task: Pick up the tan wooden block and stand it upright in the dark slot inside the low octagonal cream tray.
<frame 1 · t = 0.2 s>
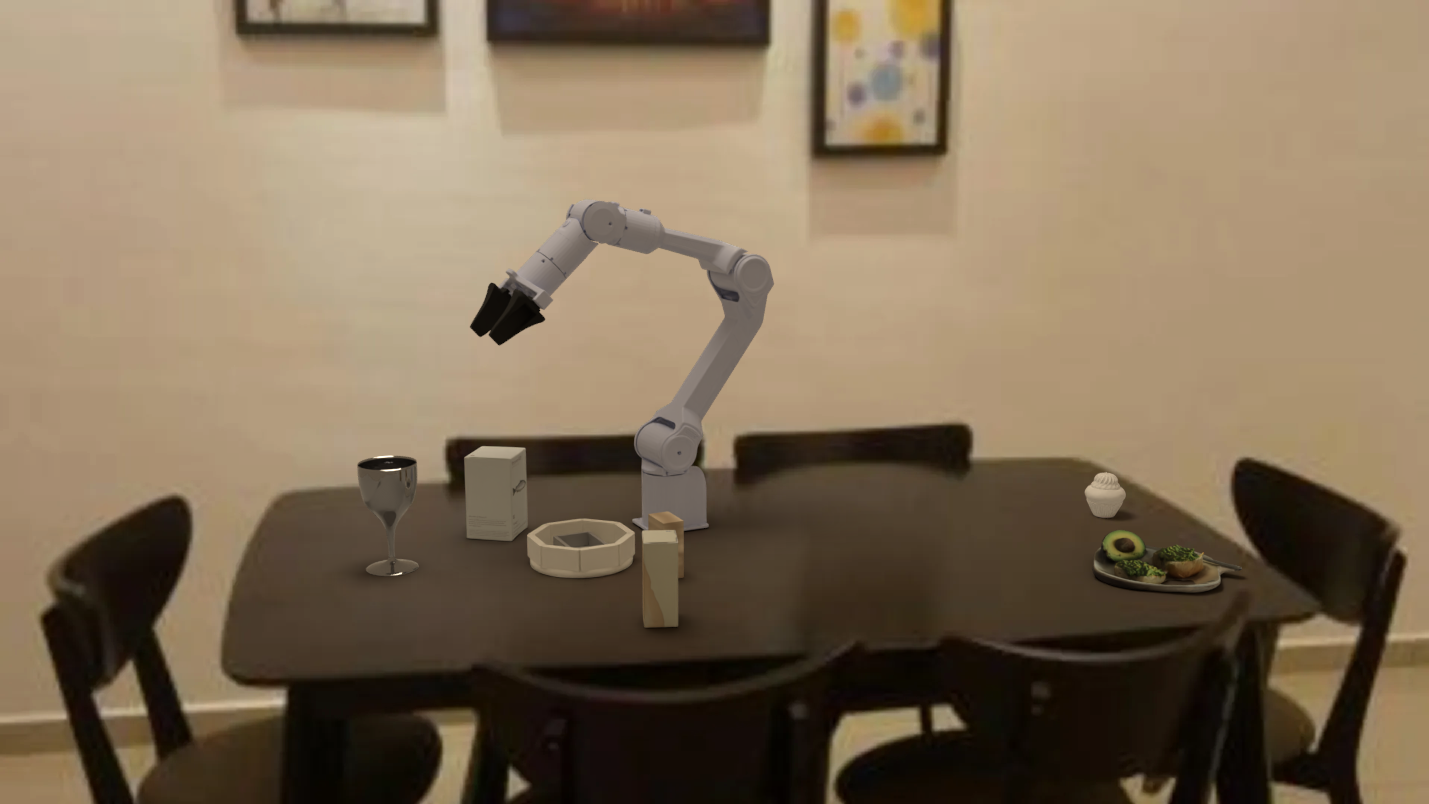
hand: (484, 336, 190), 31 cm above the table, tool tilted 50°, fingers open, 7 cm apart
tan wooden block: (666, 573, 188), on the table
supplement box: (498, 534, 206), on the table
muffin: (1103, 516, 215), on the table
salad plate: (1151, 576, 189), on the table
wine glass: (392, 569, 191), on the table
octagonal cream tray: (581, 561, 193), on the table
box: (660, 622, 171), on the table
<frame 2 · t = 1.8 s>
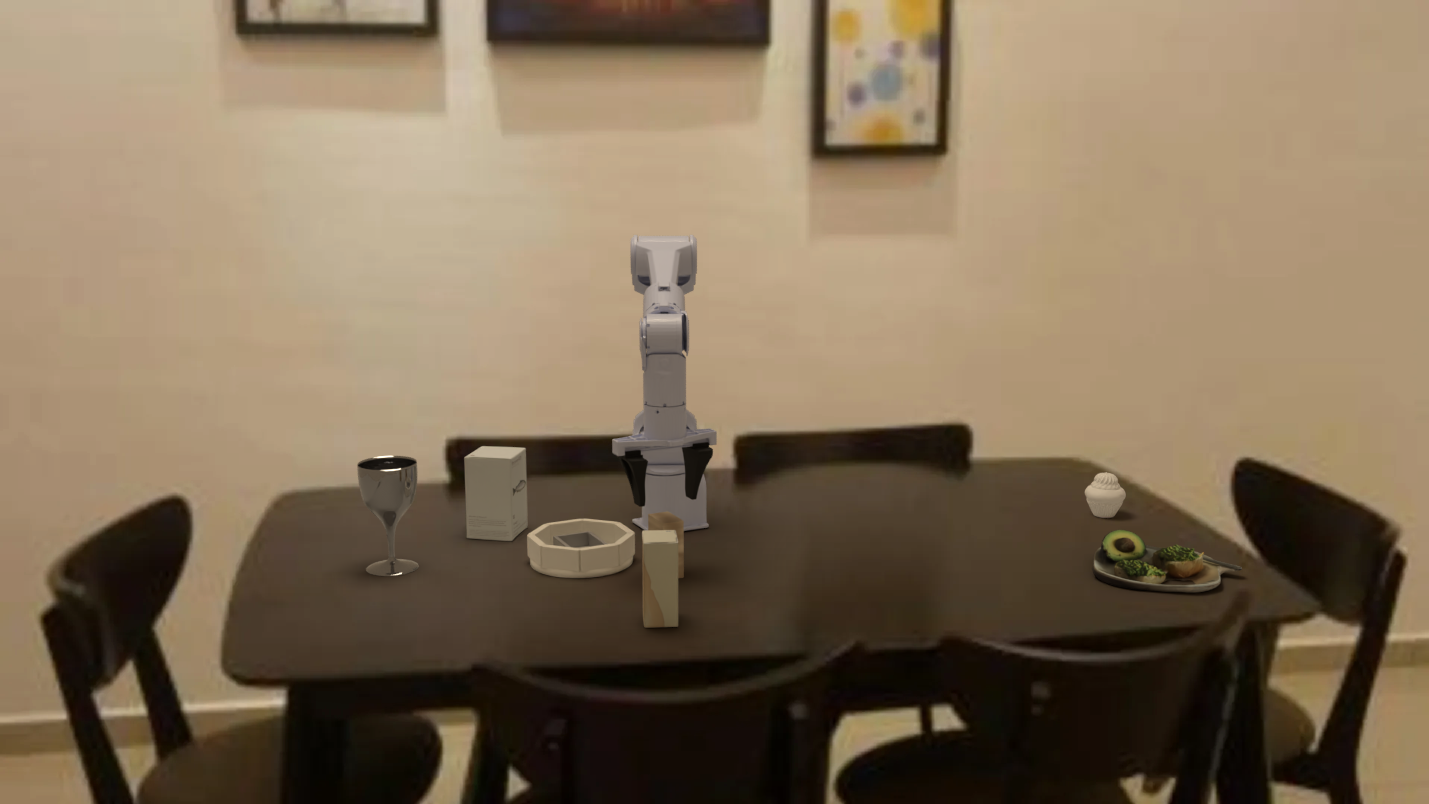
hand: (665, 501, 186), 10 cm above the table, tool pointing down, fingers open, 7 cm apart
nothing on the table moved.
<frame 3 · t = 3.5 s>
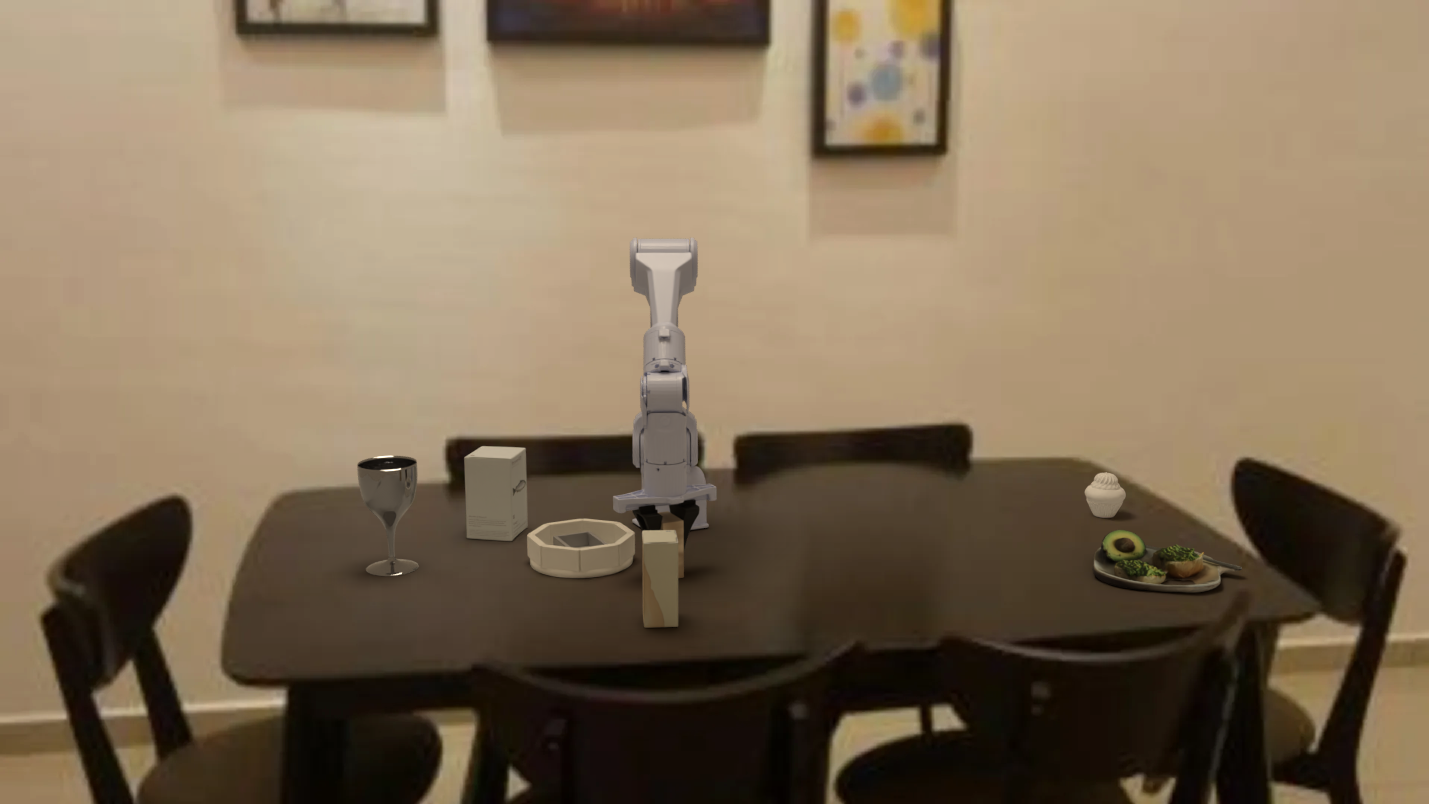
hand: (665, 556, 188), 2 cm above the table, tool pointing down, fingers closed on tan wooden block, 3 cm apart
tan wooden block: (666, 573, 188), on the table, touching gripper
everything else where it was.
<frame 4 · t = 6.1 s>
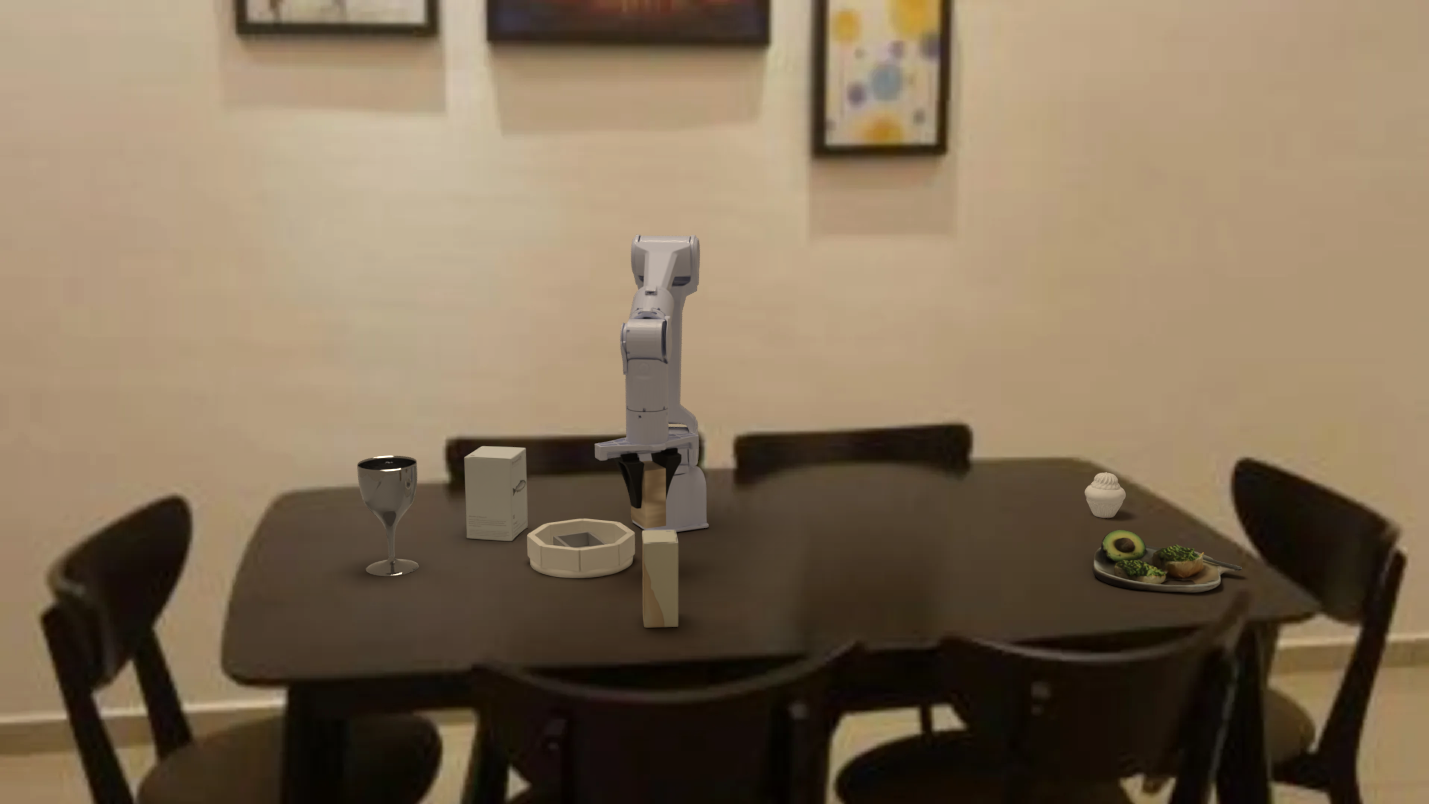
hand: (648, 505, 187), 9 cm above the table, tool pointing down, fingers closed on tan wooden block, 3 cm apart
tan wooden block: (648, 522, 188), point 7 cm above the table, touching gripper
everything else where it was.
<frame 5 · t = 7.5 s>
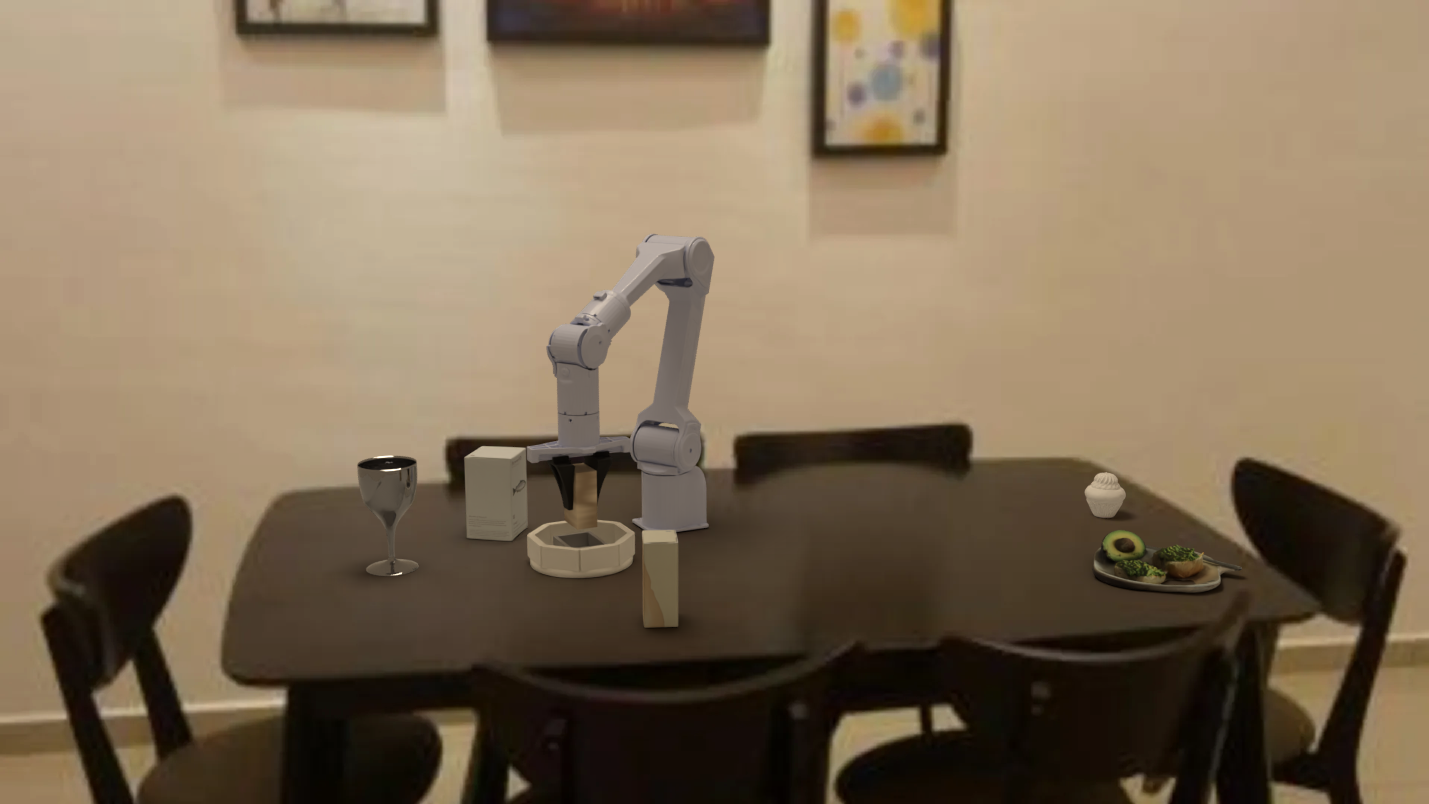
hand: (580, 506, 192), 8 cm above the table, tool pointing down, fingers closed on tan wooden block, 3 cm apart
tan wooden block: (580, 523, 192), point 6 cm above the table, touching gripper
everything else where it was.
when the fingers open (4 cm above the table, at t = 8.6 s): tan wooden block stays where it is, resting on octagonal cream tray.
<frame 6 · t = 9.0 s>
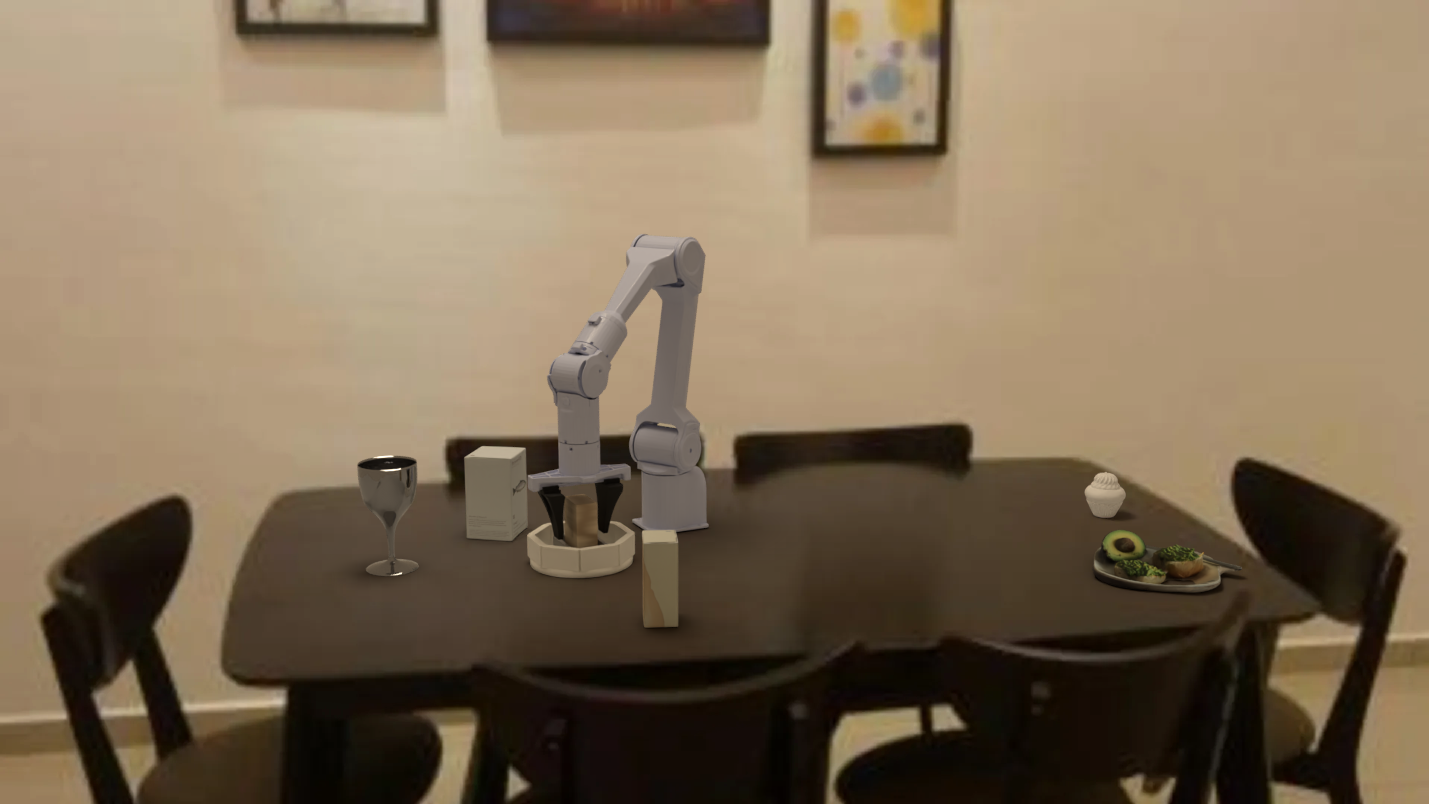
hand: (581, 534, 192), 4 cm above the table, tool pointing down, fingers open, 6 cm apart
tan wooden block: (581, 554, 193), point 1 cm above the table, touching octagonal cream tray
everything else where it was.
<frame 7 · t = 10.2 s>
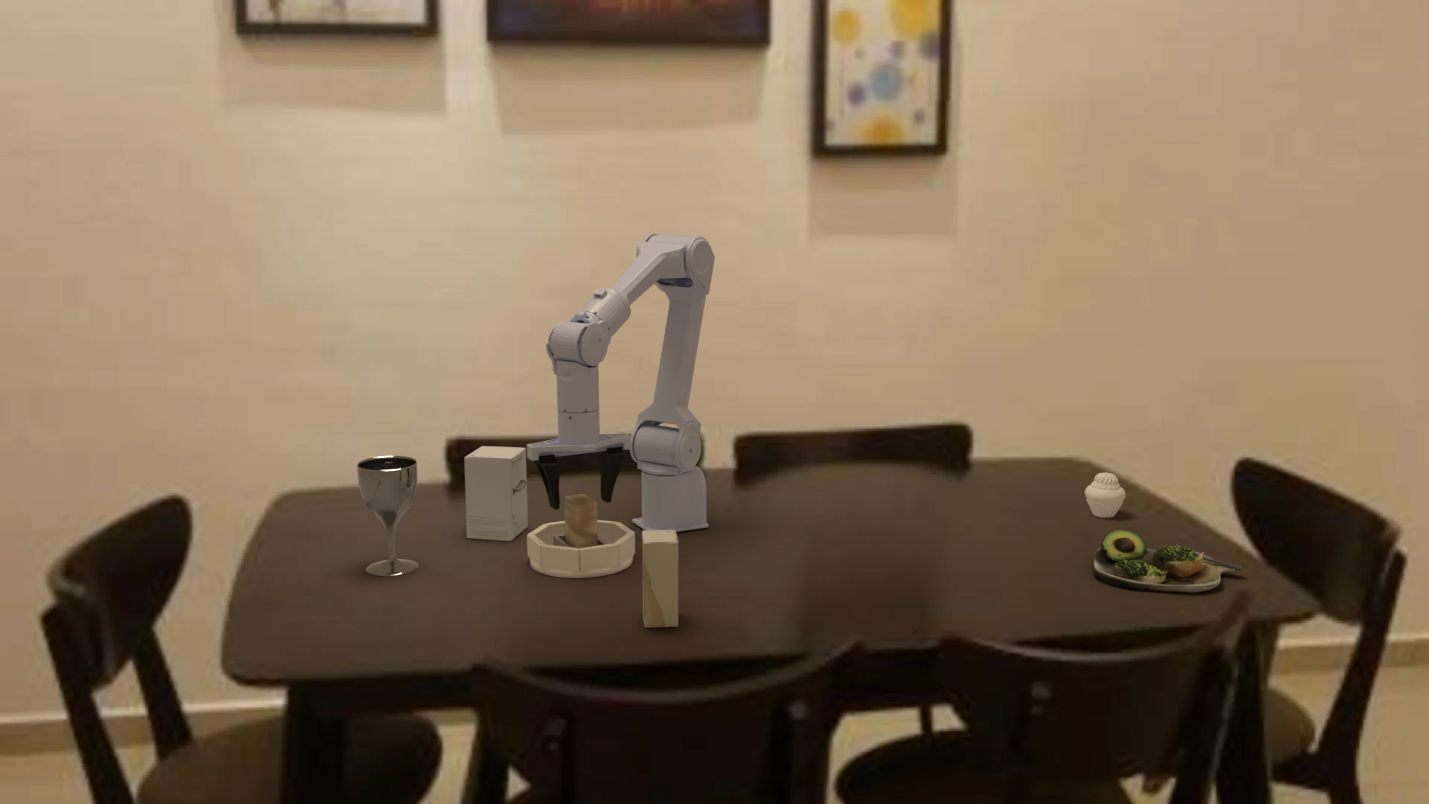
hand: (580, 504, 192), 8 cm above the table, tool pointing down, fingers open, 7 cm apart
nothing on the table moved.
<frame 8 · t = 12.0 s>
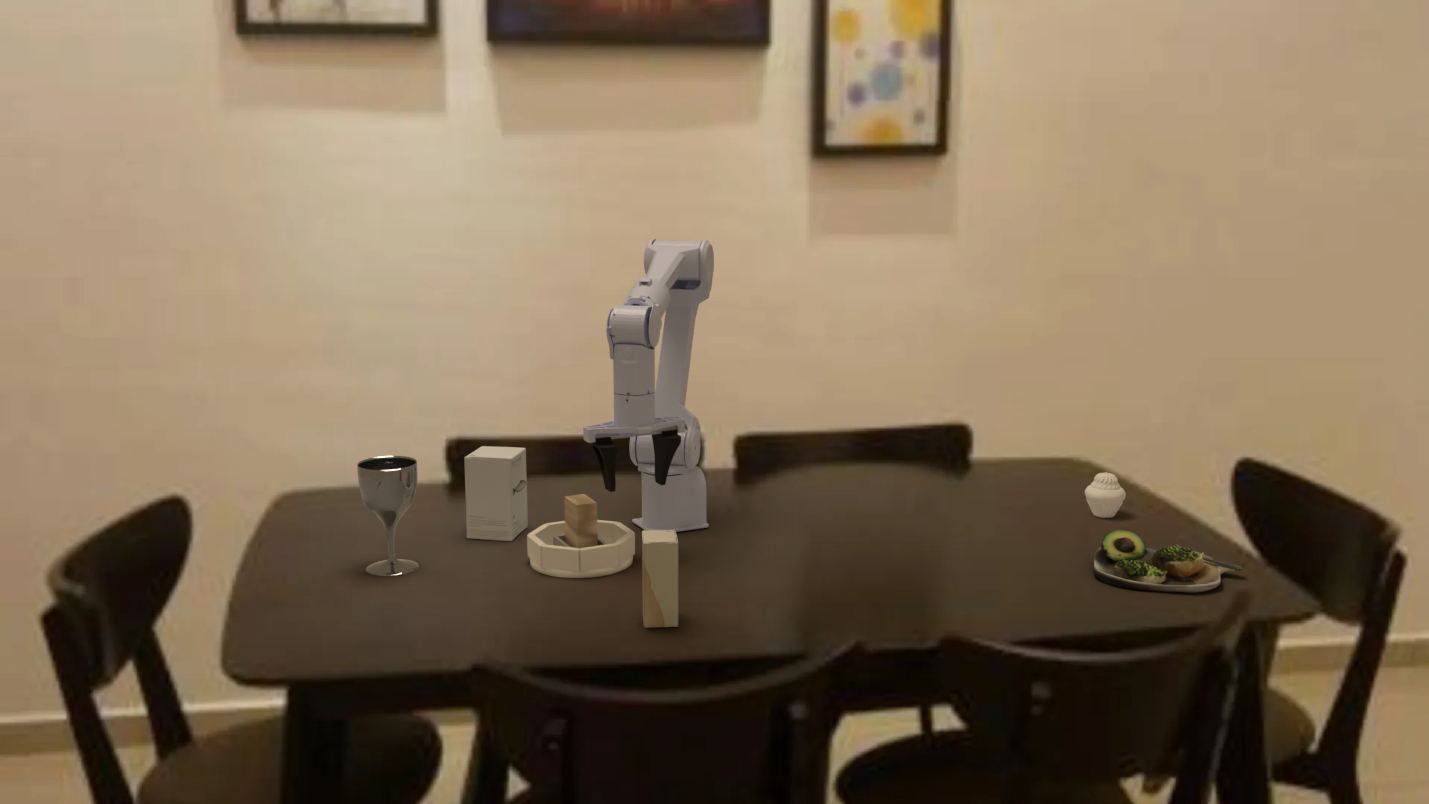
hand: (635, 486, 193), 10 cm above the table, tool pointing down, fingers open, 7 cm apart
nothing on the table moved.
at the end: tan wooden block 0.0 cm off-centre on the octagonal cream tray, point 1.0 cm above the octagonal cream tray's base; tan wooden block tilted 0°; the gripper is holding nothing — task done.
